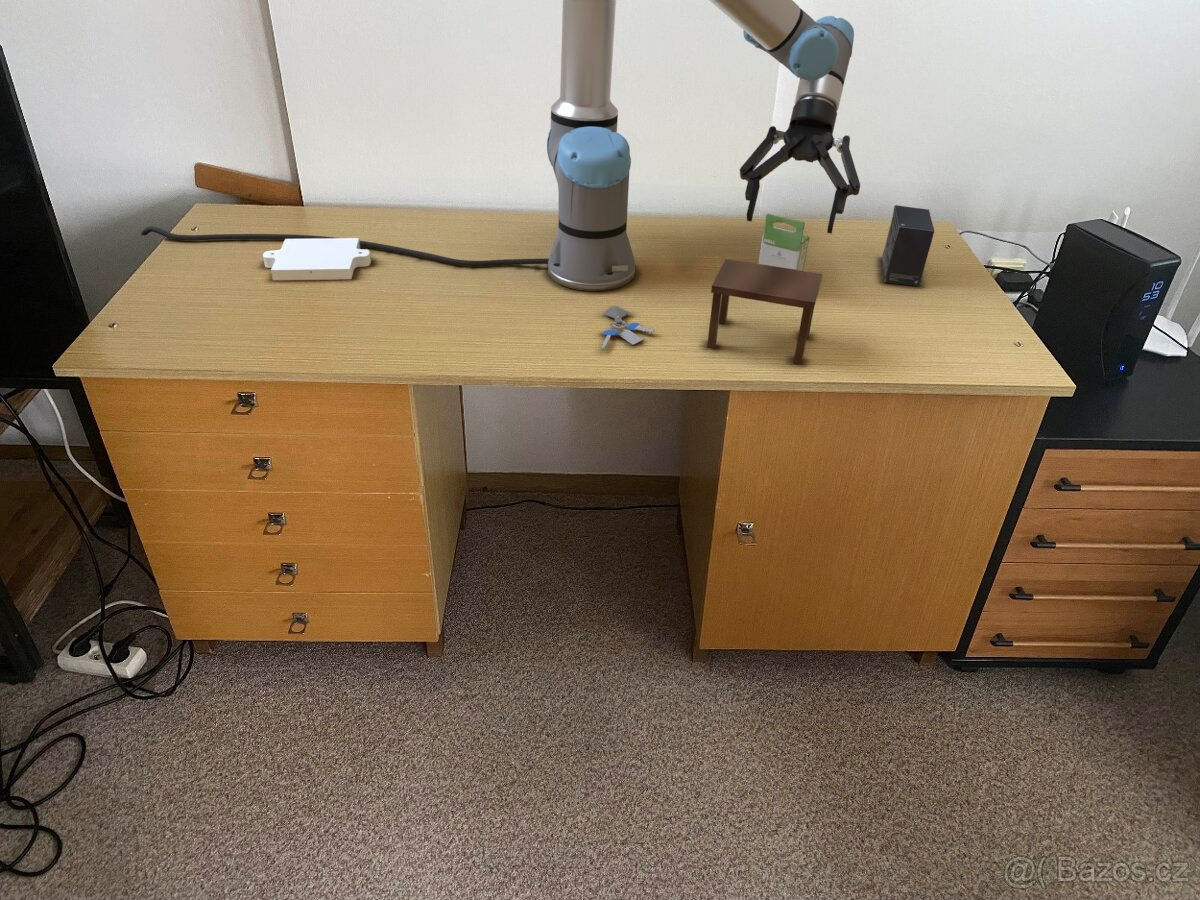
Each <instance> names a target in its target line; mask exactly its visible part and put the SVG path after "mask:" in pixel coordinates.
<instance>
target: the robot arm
mask: <svg viewBox="0 0 1200 900" xmlns="http://www.w3.org/2000/svg"><path fill="white" fill-rule="evenodd" d="M709 1H710V2H711V3H712V4H713V5H714V6H715V7H716V8H717V9H719V11H721V12H722V13H723V14H724V15H726V16H727V17H728V18H729V19H730V20H731V21H733V22H734V23H735V24H736V25H737V26H738V27H740V28H741V29H742V30H743V32H742V33H743V38H744V40H745V41H746V42H747V43H749V44H751V45H752V46H754V47H755V48H756V49H759V50H762V51H763V52H765V53H766V54H768V55H770V56H771V57H772V58H773V59H774V60H775V61H777V62H779V63H780V64H781V65H783V66H784V67H785V68H786V69H787V70H788V71H790V72H791V73H792V75H794V76H795V77H796V78H798V79H799V82H798V85H797V90H796V95H795V99H794V105H793V107H792V111H791V116H790V120H789V124H788V128H787V129H786V130H785V131H782V130H778V129H777V127H776V126H775V125H771V126H770V127H769V129H768V131H767V132H766V133H767V134H766V136H765V138H763V140H762V142H760V144H759V145H758V146H757V147H756V148H755V150H754V151H753V152H752V153H751V154H750V156H749V157H748V158H747V159H746V161H745V162H744V163H743V164H742V165H741V167H740V168H739V178H740V179H741V180H742V181H743V180H744V181H746V182H747V184H746V188H745V192H744V197H745V198H744V199H745V201H748V202H749V203H748V206H747V211H746V221H747V222H752V221H753V217H754V214H755V208H756V204H757V200H758V196H759V192H760V187H761V183H760V181H761V180H763V179H764V178H765V177H767V176H769V174H771V172H773V171H774V170H775V169H777V168H778V167H779V166H781V165H782V164H783V163H786V162H788V161H789V160H791V159H794V161H798V162H799V161H800V162H801V161H805V162H807V163H814V162H816V161H817V162H818V164H819V165H820V166H821V168H823V170H824V171H825V173H826V174H827V176H828V178H829V179H830V181H831V183H832V184H833V186H834V188H835V193H834V197H833V202H832V206H831V210H830V215H829V220H828V224H827V231H826V233H827V234H831V235H832V234H833V229H834V224H835V221H836V216H837V214H838V215H842V214H843V213H844V212H845V207H846V202H847V199H848V197H850V196H858V195H859V194H860V189H861V182H860V179H859V176H858V172H857V169H856V165H855V162H854V159H853V156H852V153H851V149H850V143H851V136H849V135H843V137H842V138H841V137H839V138H838V137H834V135H833V134H834V129H835V126H836V122H837V117H838V111H839V109H840V105H841V104H840V103H841V99H842V94H843V90H844V85H845V81H846V77H847V73H848V69H849V65H850V60H851V57H852V55H853V48H854V40H855V30H854V27H853V25H852V24H851V23H850V22H849V21H848V20H847V19H845V18H844V17H835V16H834V15H827V16H826V15H825V16H823V17H820V18H819V19H817V20H814V19H813V18H812V17H811V16H810V15H809V14H808V13H807V12H806V11H804V10H803V9H802V8H800V5H798V4H797V3H796V2H795V1H794V0H709ZM616 8H617V0H562V14H561V16H562V17H561V20H562V21H561V48H560V49H561V53H560V83H559V84H560V85H559V88H560V89H559V90H560V91H559V98H558V99H557V100H556V101H555V102H554V103H553V104H552V105H551V106H550V129H549V131H548V135H547V138H546V152H547V158H548V160H549V163H550V165H551V167H552V170H553V173H554V176H555V180H556V182H557V189H558V190H557V192H558V229H557V232H556V235H555V238H554V242H553V245H552V247H551V250H550V254H549V257H548V258H509V259H508V258H505V259H487V260H470V259H469V260H468V259H467V260H466V259H458V258H451V257H447V256H443V255H439V254H434V253H430V252H424V251H419V250H415V249H411V248H410V249H409V248H406V247H405V248H404V247H400V246H395V245H390V244H389V245H388V244H384V243H377V242H371V241H366V240H360V239H359V241H360V247H365V248H369V249H376V250H382V251H387V252H392V253H398V254H403V255H408V256H413V257H418V258H423V259H426V260H432V261H436V262H440V263H444V264H449V265H454V266H455V265H456V266H461V267H462V266H464V267H493V266H512V265H513V266H516V265H547V272H548V276H549V277H550V278H551V280H553V281H554V282H556V283H557V284H558V285H561V286H563V287H566V288H570V289H574V290H577V291H585V292H600V291H601V292H602V291H608V290H614V289H617V288H620V287H624V286H626V285H627V284H628V283H630V282H632V280H633V279H634V277H635V274H636V261H635V257H634V254H633V250H632V249H633V248H632V247H631V243H630V239H629V235H628V232H627V231H628V229H627V227H628V209H629V208H628V207H629V206H628V205H629V191H630V190H629V189H630V188H629V187H630V170H631V165H632V158H631V149H630V144H629V142H628V141H627V139H626V138H625V137H624V136H623V135H622V134H621V133H619V132H618V122H619V121H618V119H619V110H618V108H617V107H616V106H615V104H613V102H612V101H611V92H612V91H611V90H612V73H613V56H614V39H615V24H616ZM780 141H783V143H784V145H782V146H781V147H780V149H779V150H778V151H776V152H775V153H774V154H773V155H771V156H770V157H768V158H767V159H766V160H764V161H763V159H765V157H766V156H767V154H769V152H770V151H771V150H772V148H773V147H774V145H777V144H779V142H780ZM833 147H834V148H835V149H836V151H837V153H839V154H840V156H841V157H840V158H841V161H842V165H843V168H844V172H845V174H846V178H847V181H848V183H847V182H846V180H845V178H844V177H843V175H842V173H841V172H840V171H839V168H838V167H837V166H836V164H835V162H834V161H833V159H832V157H831V156H830V153H829V151H830V150H831V149H832V148H833ZM762 161H763V162H762ZM761 162H762V163H761ZM760 163H761V164H760ZM759 164H760V165H759ZM150 233H156V234H158V235H161V236H163V237H165V238H168V239H171V240H176V241H216V240H217V241H219V240H222V241H223V240H283V241H285V239H319V238H337V237H334V236H326V235H325V236H323V235H312V234H311V235H309V234H291V233H290V234H289V233H288V234H287V233H284V234H283V233H213V234H177V233H172V232H169V231H167V230H164V229H163V228H160V227H158V226H151V225H150V226H147V227H145V228H144V229H143V230H142V231H141V233H140V235H141V236H147V235H149V234H150Z"/></svg>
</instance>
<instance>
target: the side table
mask: <svg viewBox="0 0 1200 900" xmlns="http://www.w3.org/2000/svg"><path fill="white" fill-rule="evenodd" d="M823 275H824V274H823V273H819V272H813V271H807V270H803V271H801V270H795V269H788V268H782V267H775V266H769V265H763V264H758V263H756V262H751V261H750V262H749V261H743V260H736V259H729V258H724V260H723V262H722V264H721V266H720V268H719V269H718V272H717V274H716V276H715V278H714V280H713V282H712V284H711V288H710V293H711V294H712V300H711V310H710V318H709V327H708V336H707V343H706V345H707V346H706V348H707V349H708V348H709V349H714V350H715V349H716V346H717V343H718V342H717V341H718V333H719V324H720V325H726V323H727V320H728V312H729V306H730V297H735V298H740V299H746V300H752V301H759V302H766V303H770V304H777V305H782V306H787V307H788V306H789V307H796V308H801V309H802V314H801V317H800V323H799V329H798V334H797V335H798V336H797V341H796V345H795V351H794V356H793V362H792V363H793V364H798V365H801V364H802V363H803V358H804V353H805V348H806V342H807V339H809V336H810V332H811V326H812V322H813V316H814V312H815V311H814V310H815V307H816V303H817V299H818V295H819V292H820V288H821V285H822V280H823Z"/></svg>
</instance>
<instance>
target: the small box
mask: <svg viewBox="0 0 1200 900" xmlns="http://www.w3.org/2000/svg"><path fill="white" fill-rule="evenodd" d="M934 234H935V227H934V223H933V220H932V216H931V211H930V209H927V208H919V207H911V206H904V205H897V204H895V205H894V207H893V212H892V216H891V221H890V225H889V228H888V233H887V236H886V242H885V244H884V247H883V250H882V251H883V252H882V255H881V258H880V259H881V269H882V277H883V283H890V284H896V285H897V284H899V285H906V286H915V287H919V286H920V285H921V284H920V283H921V280H922V277H923V274H924V270H925V267H926V263H927V259H928V255H929V253H930V249H931V245H932V241H933V237H934Z"/></svg>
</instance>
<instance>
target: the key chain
mask: <svg viewBox="0 0 1200 900" xmlns="http://www.w3.org/2000/svg"><path fill="white" fill-rule="evenodd" d="M629 314H631V312H630V311H629V310H626V309H623V308H621V307H619V306H612V307H610V308H609V309H607V310H605V311H604V312H602V315H605V316H607V317H610V318H612V319H613V320H614V322H612V323H609V324H608V326H607V327H608V329H606V330H604V331H602V335H603V336H606V337H605V339H604V341H603V343H602V346H601V350H602V349H603V350H604V349H605V348H606V347H607V346H608V343H609V341H610V340H611V337H616V336H617V335H618V336H619V337H620V338H622V339H624V340H625V341H626V342H628V343H629V344H631V345H632V346H634V345H636V344H637V343H640V342H642V341H643V340H644V339H643V338H642V337H640V336H639V335H637V334H636V333H634V332H633V331H641V332H646V333H649V334H653V333H655V330H656V329H652V328H649V327H645V326H641V323H639V322H630V323H628V322H626V321H624V320H623V318H624V317H626V316H627V315H629ZM611 325H612V326H613V328H615V329H613V328H612V329H611V327H610V326H611ZM618 329H619V330H622V331H619V330H618Z"/></svg>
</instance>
